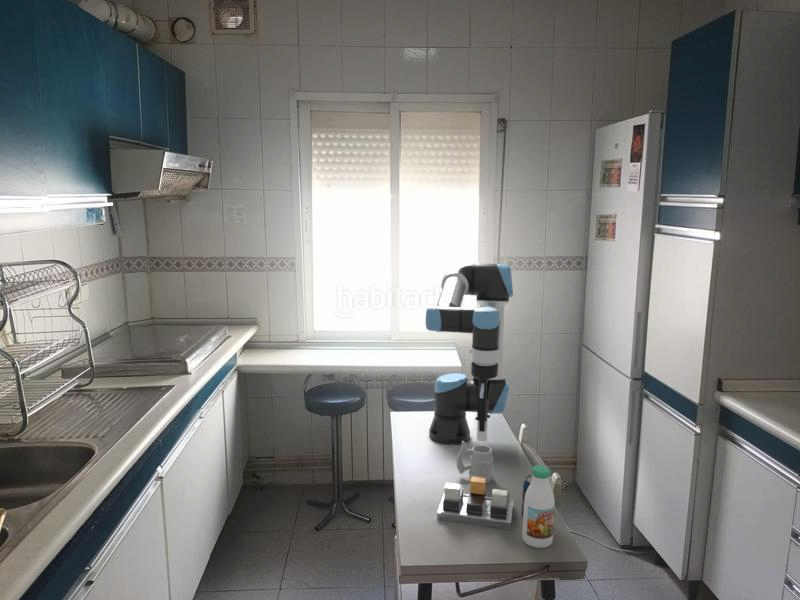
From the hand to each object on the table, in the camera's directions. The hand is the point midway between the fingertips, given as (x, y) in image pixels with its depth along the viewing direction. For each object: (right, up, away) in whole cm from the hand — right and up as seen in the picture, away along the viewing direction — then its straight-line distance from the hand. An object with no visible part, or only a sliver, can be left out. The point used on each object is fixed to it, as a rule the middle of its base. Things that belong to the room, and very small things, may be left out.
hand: (481, 440), depth 169 cm
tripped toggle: (-2, -14, -4) cm, 14 cm away
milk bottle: (+12, -22, -18) cm, 31 cm away
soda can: (+13, -20, -9) cm, 26 cm away
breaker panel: (-2, -19, -6) cm, 20 cm away
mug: (0, -16, +15) cm, 22 cm away
